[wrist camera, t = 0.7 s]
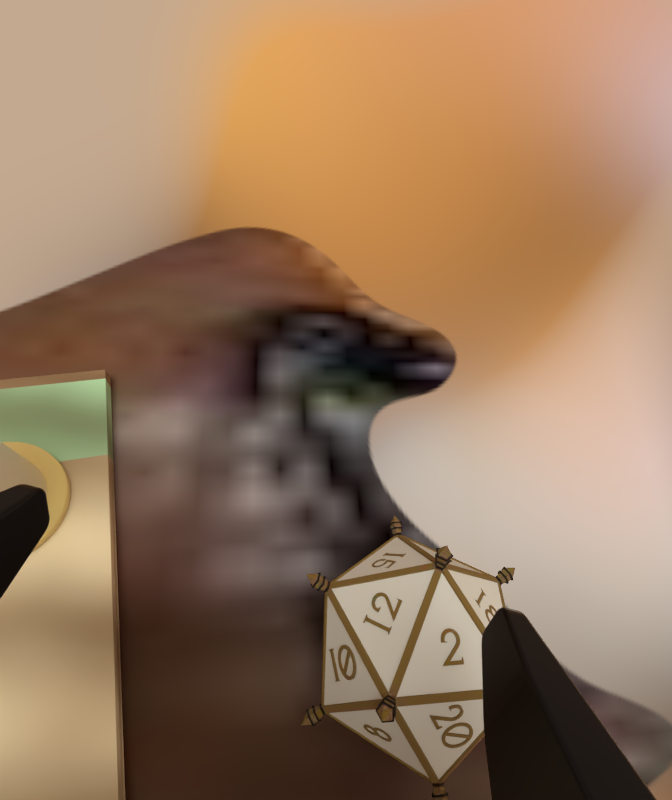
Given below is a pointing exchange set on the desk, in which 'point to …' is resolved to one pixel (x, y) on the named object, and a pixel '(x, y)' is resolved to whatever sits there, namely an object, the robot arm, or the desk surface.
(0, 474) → the peg
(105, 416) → the board
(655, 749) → the desk surface
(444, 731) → the game die
